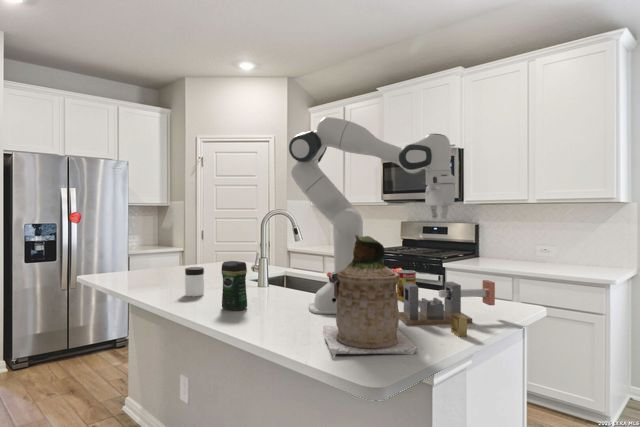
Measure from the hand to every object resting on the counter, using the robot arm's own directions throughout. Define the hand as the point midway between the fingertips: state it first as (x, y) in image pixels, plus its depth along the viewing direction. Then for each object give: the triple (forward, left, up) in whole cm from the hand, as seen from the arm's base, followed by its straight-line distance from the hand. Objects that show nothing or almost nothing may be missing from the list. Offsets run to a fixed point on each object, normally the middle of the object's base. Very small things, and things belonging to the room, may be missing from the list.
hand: (439, 218), depth 158 cm
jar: (-94, +52, -35) cm, 113 cm away
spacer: (-2, -21, -35) cm, 41 cm away
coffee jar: (-74, +23, -35) cm, 85 cm away
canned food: (-3, +30, -35) cm, 47 cm away
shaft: (+9, -3, -30) cm, 31 cm away
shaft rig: (-4, -3, -35) cm, 35 cm away
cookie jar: (-32, -25, -36) cm, 54 cm away
